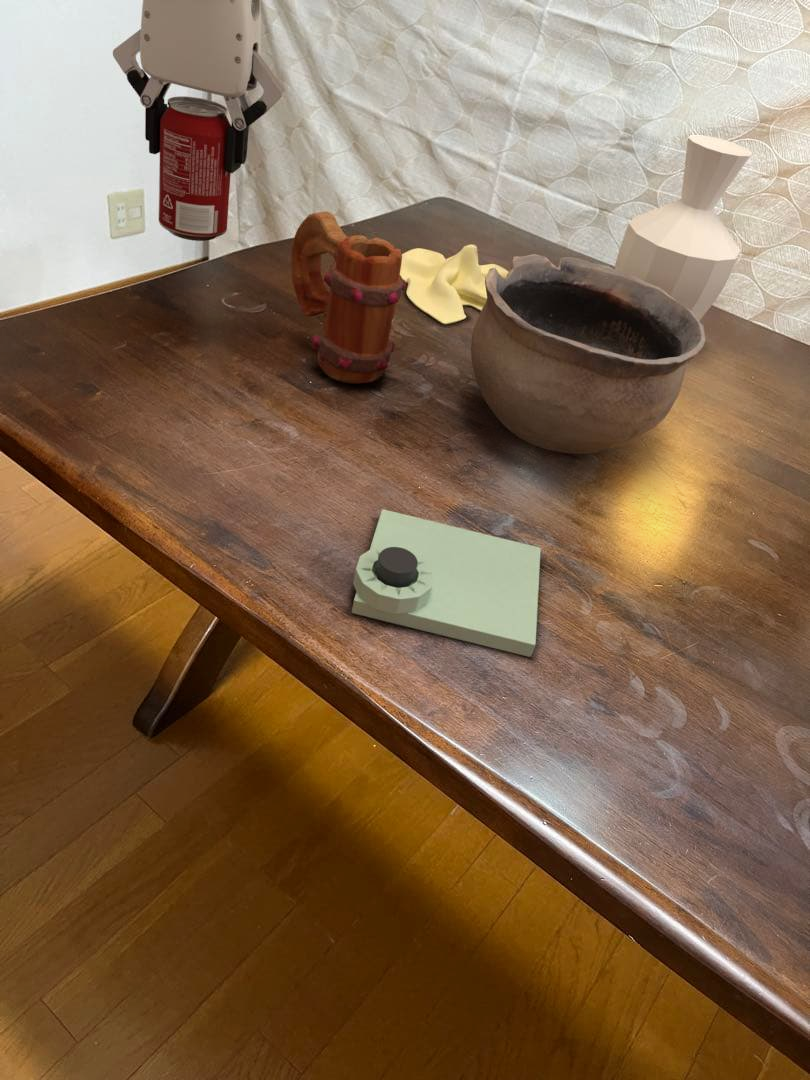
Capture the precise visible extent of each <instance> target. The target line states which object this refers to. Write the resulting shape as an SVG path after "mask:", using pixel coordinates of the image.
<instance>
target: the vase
mask: <svg viewBox="0 0 810 1080" xmlns="http://www.w3.org/2000/svg"><path fill="white" fill-rule="evenodd" d="M752 155H753V152H751V151H750V150H749V149H748V148H747V147H744V146H743V145H740V144H738V143H736V142H733V141H729V140H726V139H723V138H719V137H717V136H716V137H715V136H709V135H705V134H689V135H688V136H687V142H686V151H685V161H684V170H683V178H682V179H683V181H682V187H681V188H682V189H681V197H680V199H678V200H675V201H673V202H670V203H667V204H664V205H661V206H658V207H657V208H654V209H651V210H648V211H646V212H644V213H641V214H638V215H635V216H634V217H633V218H632V219H631V220H630V221H629V222H628V223H627V227H626V229H625V232H624V236H623V238H622V241H621V244H620V247H619V250H618V253H617V258H616V261H615V263H614V270H616V271H619V272H621V273H624V274H627V275H630V276H633V277H636V278H638V279H640V280H643V281H645V282H647V283H649V284H651V285H654V286H656V287H659V288H661V289H663V290H664V291H665V292H666V293H668V294H669V295H670V296H671V297H673V298H674V299H675V300H676V301H677V302H678V303H680V304H681V305H683V306H685V307H686V308H688V309H690V310H691V311H693V312H694V314H695V315H696V317H697V318H698V320H699V322H701V320H702V318H703V317H704V316H705V315H706V313H707V312H708V311H709V310H710V308H711V307H712V306H713V304H714V303H715V302H716V301H717V299H718V298H719V296H720V294H721V293H722V292H723V290H724V288H725V287H726V284H727V282H728V280H729V278H730V276H731V274H732V271H733V270H734V267H735V265H736V263H737V260H738V258H739V256H740V254H741V250H740V248H739V247H738V245H737V243H736V242H735V240H734V238H733V237H732V236H731V234H730V232H729V231H728V229H727V227H726V226H725V224H724V223H723V221H722V220H721V219H720V217H719V215H718V214H717V212H716V210H715V207H716V205H717V204H718V203H719V202H720V200H721V198H722V197H723V195H724V194H725V192H727V190H728V188H729V187H730V186H731V184H732V183H733V181H734V180H735V178H736V177H738V175H739V172H741V170H742V169H743V167H744V166H745V165H746V163H747V162H748V161H749V159H750V157H751V156H752Z"/></svg>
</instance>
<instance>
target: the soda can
mask: <svg viewBox="0 0 810 1080" xmlns="http://www.w3.org/2000/svg"><path fill="white" fill-rule="evenodd" d="M167 107H168V109H167V110H166V112H165V113H164V114H163V116H162V117H161V120H160V152H159V168H158V170H159V173H158V174H159V175H158V177H159V179H158V223H159V225H160V226H161V227H162V228H163V229H165V231H168V232H169V233H170V234H171V235H173V236H175V237H177V238H180V239H183V240H188V241H196V242H205V241H212V240H214V239H217V238H218V237H221V236H223V235H224V234H226V233H227V230H228V218H229V203H230V191H231V190H230V188H231V174H232V173H228V172H226V170H225V154H226V138H227V130H228V128H230V127H231V126H232V124H231V123H230V121H229V119H228V117H227V115H228V114H229V111H228V108H227V106H225V105H223V104H222V103H219V102H217V101H213V100H210V99H207V98H201V97H195V96H182V95H181V96H171V97H169V98H168V99H167Z"/></svg>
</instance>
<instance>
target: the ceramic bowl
mask: <svg viewBox="0 0 810 1080" xmlns="http://www.w3.org/2000/svg"><path fill="white" fill-rule="evenodd" d="M511 260H512V261H511V264H510V269H509V271H508V274H507V277H506V278H504V277H502V276H501V275H500V274H499V273H498V271H497V270H496V268H491V269H489V271H488V273H487V275H486V278H485V286H486V293H487V301H486V303H485V305H484V307H483V309H482V310H481V311H480V312H479V314H478V317H477V320H476V321H475V324H474V327H473V330H472V334H471V345H470V357H471V361H470V362H471V365H472V369H473V373H474V376H475V379H476V384H477V386H478V388H479V391H480V393H481V395H482V398H483V399H484V401H485V402H486V404H487V406H488V407H489V408H490V410H491V411H492V413H493V414H494V415H495V417H496V418H497V419H498V421H500V423H501V424H502V425H503V426H504V427H505V428H507V429H508V431H510V432H511V433H512V434H514V435H515V436H516V437H518V438H519V439H521V440H523V441H524V442H526V443H528V444H531V445H534V446H536V447H538V448H542V449H545V450H548V451H552V452H557V453H564V454H574V455H575V454H577V455H579V454H580V455H581V454H595V453H599V452H604V451H607V450H610V449H613V448H616V447H621V446H625V445H628V444H631V443H632V442H635V441H636V440H638V439H640V438H642V437H643V436H644V435H646V434H647V433H649V432H650V431H652V430H653V429H654V428H656V427H657V426H658V425H659V424H661V422H662V421H663V420H664V419H666V417H667V415H668V414H669V413H670V411H671V409H672V408H673V406H674V404H675V403H676V401H677V398H678V397H679V395H680V391H681V389H682V385H683V381H684V378H685V374H686V373H685V372H686V367H687V366H686V365H687V363H688V362H689V361H690V360H692V359H693V358H694V357H695V356H696V355H698V353H699V352H700V351H701V350H703V347H704V345H705V342H706V341H707V337H706V332H705V326H704V325H703V324H702V322H701V321H699V320H698V318H697V317H696V315H695V314H694V312H693V311H691V310H690V309H688V308H686V307H685V306H683V305H681V304H680V303H678V302H677V301H676V300H675V299H674V298H673V297H671V296H670V295H669V294H668V293H666V292H665V291H664V290H663V289H661V288H659V287H656V286H654V285H651V284H649V283H647V282H645V281H643V280H640V279H638V278H636V277H633V276H630V275H627V274H624V273H621V272H619V271H616V270H615V268H614V269H613V268H612V267H610V266H608V265H605V264H599V263H595V262H593V261H589V260H585V259H582V258H578V257H573V256H563V257H560V258H559V262H558V267H557V266H556V265H554V264H553V263H552V262H551V261H550V260H549V259H548V257H546V256H543V255H541V254H537V253H532V254H528V255H524V256H513V257H512V259H511Z"/></svg>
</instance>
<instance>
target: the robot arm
mask: <svg viewBox="0 0 810 1080" xmlns="http://www.w3.org/2000/svg"><path fill="white" fill-rule="evenodd" d="M141 6H142V8H141V20H140V29H139V30H137V31H136V32H134V33H133V34H132V35H131V36H129V37H128V38H127V39H126V40H125V41H123V42H121V43H120V44H119V45H118V46H117V47H115V48H114V49H113V50H112V56H113V58H114V60H115V62H116V63H117V65H118V66H119V68H120V69H121V71H122V73H124V74H125V76H126V81H127V82H128V84H129V85H130V86H131V87H132V89H133V91H134V92H135V93H136V94H137V96H138V97H139V101H140V104H141V105H142V106H143V107H144V108H145V112H144V116H145V117H144V118H145V119H144V120H145V121H144V123H145V125H144V132H145V133H144V136H145V137H144V138H145V140H146V141H147V142H148V152H149V154H151V155H157V154H160V120H161V117H162V116H163V114H164V113H165V112H166V110H167V109H168V107H169V106H168V103H165V96H166V95H167V93H168V91H169V89H170V87H171V85H177V86H181V87H184V88H188V89H193V90H196V91H200V92H205V93H208V94H212V95H217V96H222V97H223V100H224V102H225V105H226V108H227V109H228V114H229V117H230V119H231V127H230V128H228V130H227V138H226V154H225V170H226V172H228V173H231V174H234V173H235V172H236V171H237V170H239V169H240V168H241V167H242V165H244V164H245V163H246V161H247V157H248V143H249V131H250V130H249V129H250V126H251V125H253V124H254V123H255V122H256V121H257V120H259V119H260V118H261V117H263V116H264V115H265V114H266V113H268V112H269V111H270V110H271V109H272V108H273V107H274V106H275V105H277V104H278V102H279V101H280V100H282V99H283V98H284V97H285V95H286V89H285V87H284V86H283V84H282V83H281V82H280V80H279V79H278V78H277V76H276V75H275V74H274V73H273V71H272V70H271V69H270V67H269V66H268V65H267V63H266V61H265V60H264V59H263V58H262V10H261V8H262V7H261V0H142V5H141ZM138 54H139V56H140V65H141V67H140V65H139V63H138V61H137V55H138ZM149 76H150V77H149ZM258 85H260V86H261V88H262V91H263V93H262V95H261V96H260V97H259V98H258V99H257V100H256V101H255V102H254V103H250V101H249V98H248V95H247V91H252V90H254V89H256V88H257V87H258ZM250 104H251V105H250Z"/></svg>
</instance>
